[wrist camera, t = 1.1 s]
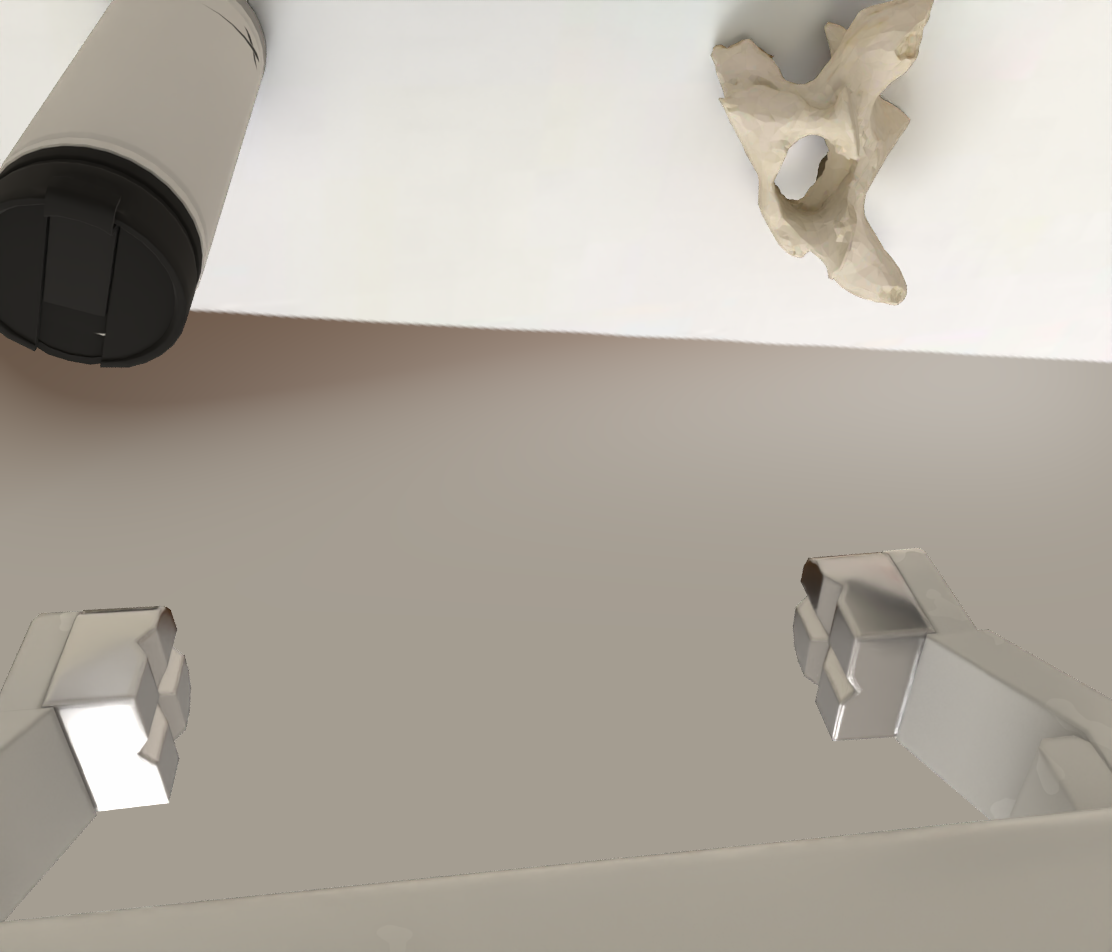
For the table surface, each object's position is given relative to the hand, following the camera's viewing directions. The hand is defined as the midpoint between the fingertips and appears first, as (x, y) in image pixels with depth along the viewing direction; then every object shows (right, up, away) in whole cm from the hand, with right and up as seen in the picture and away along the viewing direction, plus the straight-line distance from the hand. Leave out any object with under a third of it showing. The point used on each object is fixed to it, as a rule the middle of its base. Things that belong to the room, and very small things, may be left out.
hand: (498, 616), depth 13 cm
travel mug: (-15, +20, +30) cm, 39 cm away
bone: (+13, +19, +34) cm, 42 cm away
